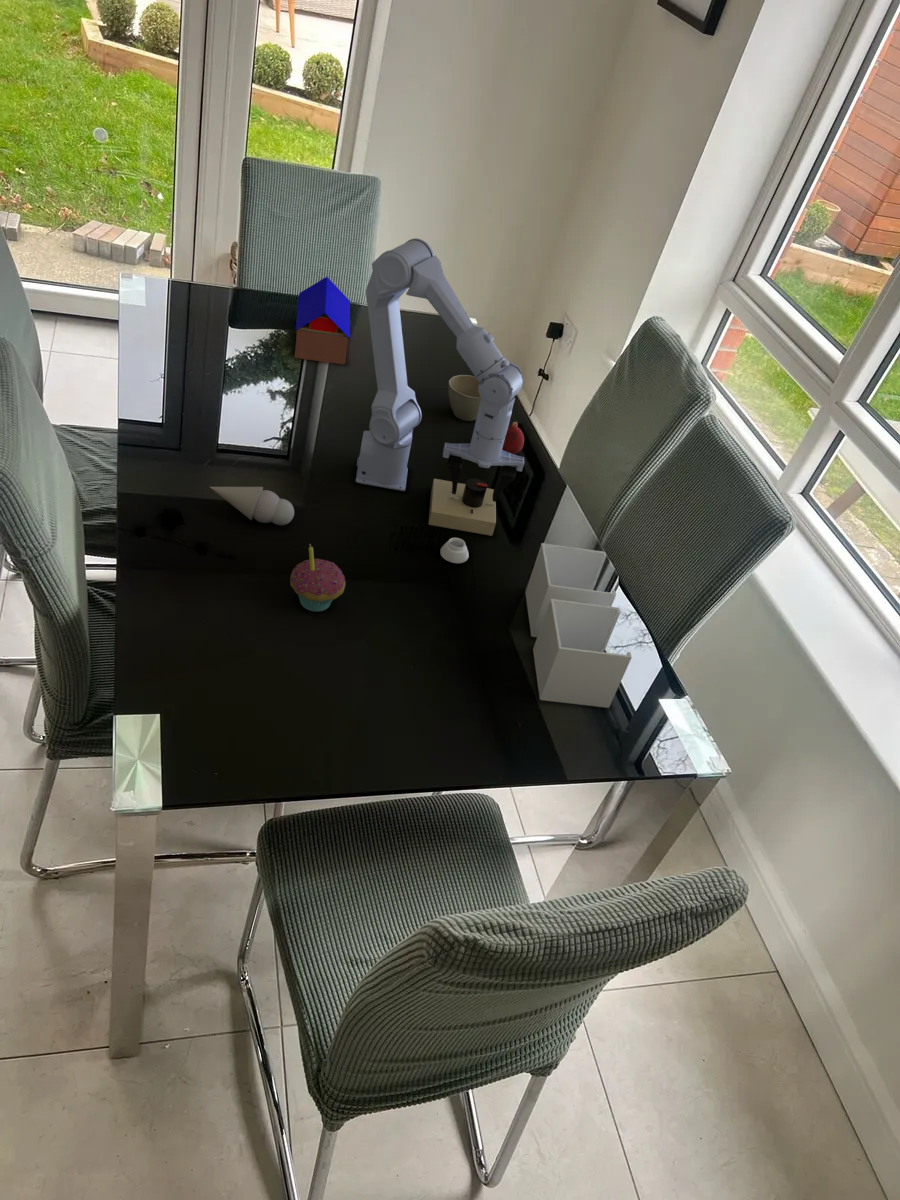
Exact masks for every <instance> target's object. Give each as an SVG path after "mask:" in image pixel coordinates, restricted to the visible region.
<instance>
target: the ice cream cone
mask: <svg viewBox="0 0 900 1200" xmlns="http://www.w3.org/2000/svg"><path fill="white" fill-rule="evenodd" d="M209 488H210V489H211V490H213V491H214V492H215V493H216V494H217V495H218V496H220V497H221V498H222V499H224V500H225V501H226V502H228V504H230V505H231V506H232V507H234V508H235V509H236V510H237V511H239V512H240V513H241V514H243V516H244V517H246V518H247V519H249V520H250V521H253V519H254V520H255V521H257V522H259V523H261V524H262V523H263V524H268V523H272V524H274V525H277V526H286V525H288V524H289V523H291V522H292V520H293V519H294V516H295V508H294V506H293V504H292V503H291V502H290V501H289V500H287V499H285V498H280V497H279V496H278V494H277V493H275V492H274V491H271V490H268V489H264V486H209Z"/></svg>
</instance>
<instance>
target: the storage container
mask: <svg viewBox="0 0 900 1200" xmlns="http://www.w3.org/2000/svg"><path fill="white" fill-rule="evenodd" d="M606 559H607V553H606V551H601V550H594V549H586V548H580V547H573V546H567V545H558V544H551V543H546V542H545V543H544V542H541V544H540V546H539V550H538V553H537V556H536V560H535V562H534V565H533V568H532V571H531V574H530V578H529V580H528V584H527V587H526V589H525V599H526V608H527V614H528V615H527V617H528V623H529V629H530V637H532V638H536V639H535V642H534V646H533V647H532V648H533V649H532V653H533V659H534V667H535V674H536V681H537V683H536V684H537V689H538V696H539V697H538V698H539V701H547V702H555V703H564V704H572V705H580V706H589V707H596V708H607V709H610V707H611V704H612V702H613V700H614V698H615V696H616V693H617V691H618V689H619V686H620V684H621V682H622V680H623V678H624V676H625V674H626V671H627V669H628V666H629V664H630V663H631V660H632V653H631V651H627V652H626V654H620V653H612V652H605V650H606V648H607V646H608V643H609V641H610V638H611V636H612V634H613V631H614V629H615V627H616V624H617V622H618V619H619V617H620V614H621V608H620V607H619V606H618V607H617V606H613V604H614V602H615V599H616V596H617V593H616V590H615V589H612V590H611V592H610V591H609V592H608V591H601V590H595V587H596V584H597V582H598V579H599V577H600V574H601V571H602V569H603V566H604V564H605V561H606Z"/></svg>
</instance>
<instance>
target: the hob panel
mask: <svg viewBox="0 0 900 1200" xmlns="http://www.w3.org/2000/svg"><path fill="white" fill-rule="evenodd" d="M465 484H466V483H462V482H461V483H460V482H458V484H457V491H456V495H455V494H452V481H449V480H444V479H439V478H433V482H432V484H431V485H432V486H431V491H430V501H429V513H428V523H427V524H428V525H430V526H434V527H440V528H444V529H445V528H446V529H450V530H456V531H462V532H468V533H473V534H479V535H485V536H491V537H493V535H494V532H495V528H496V524H497V506H496V505H497V503H496V502H497V501H496V502H494V501H493V491H494V488H488V487H487V490H486V493H485V497H484V501H483V505H482V506H481V507H478V508H473V507H469V506H467V505H465V504H464V503H463V502H462V496H463V492H464V488H465Z"/></svg>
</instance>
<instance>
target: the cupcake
mask: <svg viewBox="0 0 900 1200" xmlns="http://www.w3.org/2000/svg"><path fill="white" fill-rule="evenodd" d="M308 545H309V547H308V557H309V558H308V559H304V560H302V561H301V562H299V563H298V564H296V565H295V567H294V568H293V569H292V572H291V574H290V581H289V583H290V587H291V588H292V589H293V590H294V592H295V594H296V595H297V596H298V598H299V603H300V605H301V606H302V608H304V609H306V610H307V611H310V612H323V611H325V610H328V608H330V606H331V604H332V602H333V601H334V600H336V599H337V598H339V597H340V596H342V595H343V593H344V592H345V588H346V578H345V575H344V572H343V569H341V568H340V567H339V566H338V565H337V564H335V562H333V561H330V560H327V559H320V558H315V556H314V555H315V554H314V547H313V546H312V544H311V543H309V544H308Z"/></svg>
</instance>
